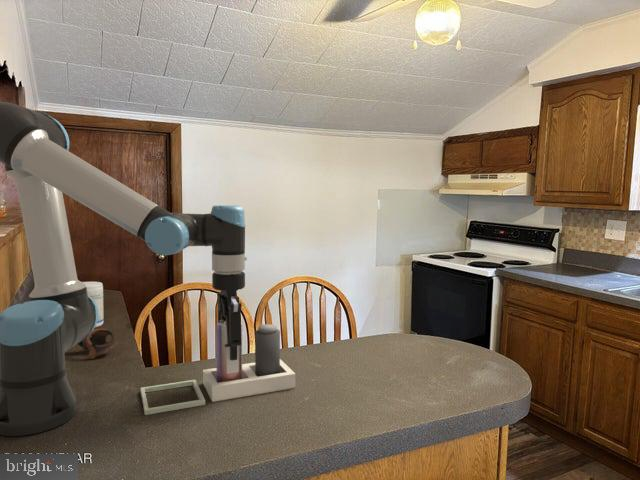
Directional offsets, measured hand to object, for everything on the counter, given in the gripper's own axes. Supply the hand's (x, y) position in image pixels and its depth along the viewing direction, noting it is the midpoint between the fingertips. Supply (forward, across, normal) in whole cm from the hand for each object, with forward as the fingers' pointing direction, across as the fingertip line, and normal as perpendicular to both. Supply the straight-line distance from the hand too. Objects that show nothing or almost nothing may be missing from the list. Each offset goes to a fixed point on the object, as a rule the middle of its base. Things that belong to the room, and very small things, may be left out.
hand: (229, 367), depth 113 cm
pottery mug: (+6, +39, +29) cm, 49 cm away
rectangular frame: (+5, 0, +13) cm, 14 cm away
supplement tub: (+6, +71, +32) cm, 78 cm away
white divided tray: (+5, 0, -5) cm, 7 cm away
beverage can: (+4, 0, 0) cm, 4 cm away
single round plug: (+5, 0, -10) cm, 11 cm away
